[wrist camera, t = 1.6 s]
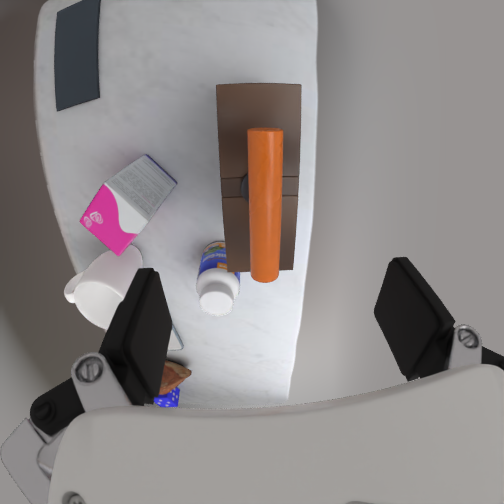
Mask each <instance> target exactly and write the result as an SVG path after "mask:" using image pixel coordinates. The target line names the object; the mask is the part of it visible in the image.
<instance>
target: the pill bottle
mask: <svg viewBox="0 0 504 504" xmlns="http://www.w3.org/2000/svg"><path fill="white" fill-rule="evenodd" d="M196 290H197V293H198V295H199V305H200V307H201V309H202V310H203V311H204V312H205V313H207V314H209V315H213V316H222V315H225V314H227V313H229V312H230V311H231V310H232V308H233V305H234V300H235V299H236V297H237V296H238V294H239V290H240V272H227V261H226V249H225V242H215V243H212V244H210V245H209V246H207V247H206V248H205V250H204V252H203V254H202V258H201V263H200V268H199V272H198V277H197V283H196Z"/></svg>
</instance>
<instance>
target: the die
mask: <svg viewBox="0 0 504 504" xmlns="http://www.w3.org/2000/svg"><path fill="white" fill-rule="evenodd" d="M179 392H180V390H179V389H178V388H177V387H176V388H174V389H173V390H171V391H170V392H169V393H167V394H165V395H160V394H159V396H158V397H155V398H154V402H155V403H156V404H157V405H159V406H160V407H177V406H178V400H179Z"/></svg>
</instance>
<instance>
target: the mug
mask: <svg viewBox="0 0 504 504" xmlns="http://www.w3.org/2000/svg"><path fill="white" fill-rule="evenodd" d="M139 268H143V261H142V255H141V252H140V251H139V250H138V249H137V248H136V247H135V246H133V245H131V244H130V245H129V246H128V247H127V248H126V249H125V251H124V252H123V253H122V254H121V255H120V256H117V255H116V254H115V253H114V252H113V251H111V250H109V251H107V252H105V253H103V254H101V255H100V256H98V257H97V258H96V259H95V260H94V261H93V262H92V263H91V264H90V266H89V267H88V268H87V270H85V271H83V272H81V273H79V274H78V275H76V276H75V277H74V278H72V279H71V280H70V281H69V282H68V284H67V285H66V287H65V290H64V294H65V297H66V299H67V300H68V301H69V302H70V303H76V306H77V307H78V309H79V311H80V312H81V313H82V314H83V316H84V317H85V318H86V319H88V320H89V321H90V322H92V323H93V324H96V325H97V326H99V327H101V328H104V329H108V327H109V325H110V323H111V320H112V318H113V316H114V313H115V311H116V309H117V307H118V305H119V303H120V302H121V301H123V300H124V297H125V295H126V293H127V291H128V289H129V286H130V284H131V282H132V280H133V278H134V276H135V274H136V272H137V270H138V269H139ZM74 289H75V290H74ZM73 290H74V292H73V293H72V291H73Z"/></svg>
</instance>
